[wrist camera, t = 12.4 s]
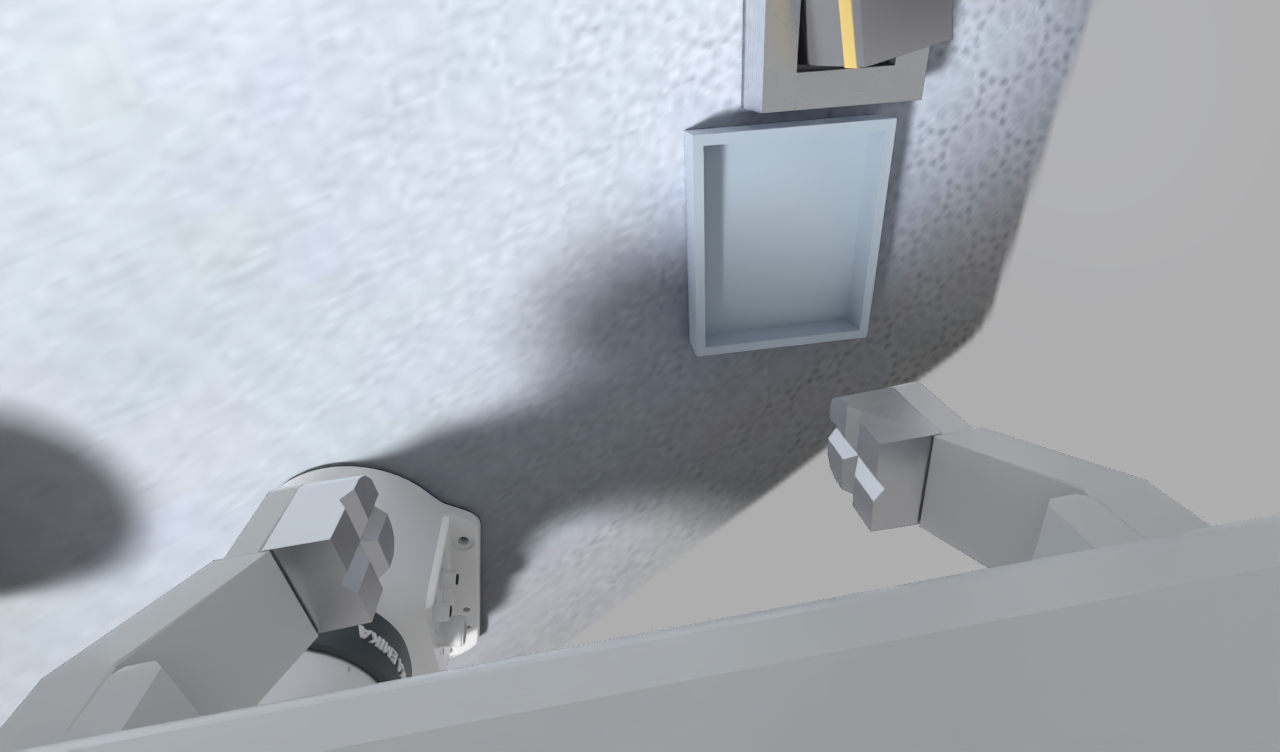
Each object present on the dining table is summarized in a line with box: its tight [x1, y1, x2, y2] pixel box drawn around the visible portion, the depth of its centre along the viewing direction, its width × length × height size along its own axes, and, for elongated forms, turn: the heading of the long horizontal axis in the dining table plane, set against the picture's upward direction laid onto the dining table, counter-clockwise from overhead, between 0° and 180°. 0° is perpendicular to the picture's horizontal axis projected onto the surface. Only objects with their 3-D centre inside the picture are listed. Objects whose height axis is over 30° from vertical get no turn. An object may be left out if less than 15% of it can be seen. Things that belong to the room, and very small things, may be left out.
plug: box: [797, 0, 953, 68], centre depth 29 cm, size 4×4×9 cm
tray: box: [684, 114, 897, 357], centre depth 38 cm, size 14×12×3 cm
